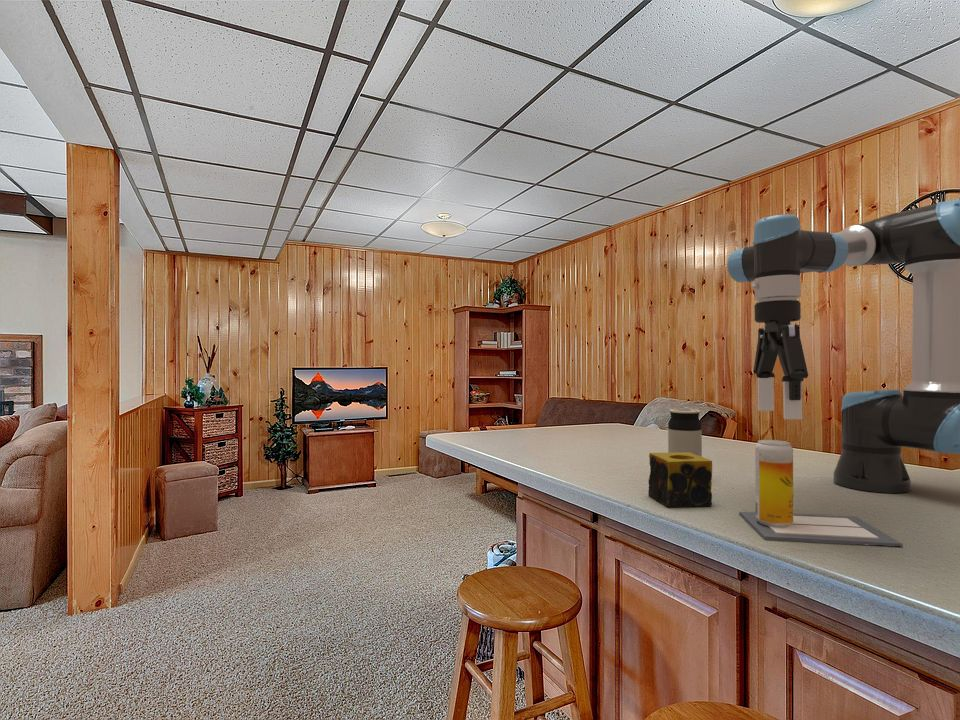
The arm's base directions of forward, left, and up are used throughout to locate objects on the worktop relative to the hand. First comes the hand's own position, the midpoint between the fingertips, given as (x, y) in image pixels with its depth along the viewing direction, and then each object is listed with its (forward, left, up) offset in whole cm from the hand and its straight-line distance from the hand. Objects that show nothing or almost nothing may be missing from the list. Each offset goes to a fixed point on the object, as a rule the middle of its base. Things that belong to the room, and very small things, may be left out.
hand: (778, 414), depth 99 cm
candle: (+15, -15, -21) cm, 30 cm away
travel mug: (+10, -36, -21) cm, 43 cm away
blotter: (-5, +1, -21) cm, 21 cm away
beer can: (+1, +1, -20) cm, 20 cm away
